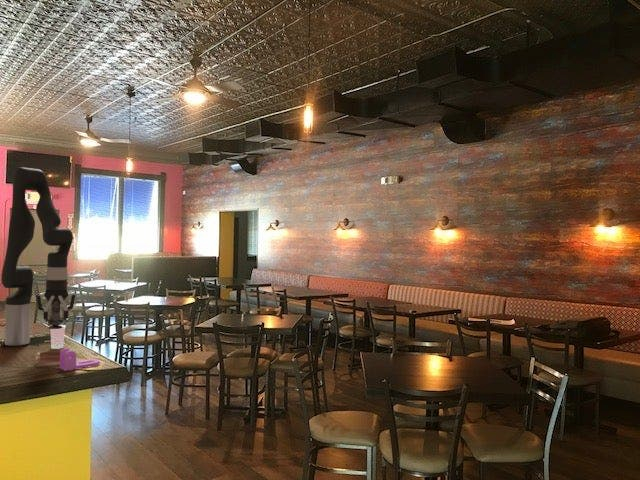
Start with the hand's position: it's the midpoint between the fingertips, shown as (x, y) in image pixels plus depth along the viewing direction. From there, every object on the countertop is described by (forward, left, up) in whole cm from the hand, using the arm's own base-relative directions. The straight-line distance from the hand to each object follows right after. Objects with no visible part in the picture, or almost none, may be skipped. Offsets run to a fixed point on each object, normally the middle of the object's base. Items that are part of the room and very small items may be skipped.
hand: (55, 320), depth 203 cm
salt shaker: (0, 0, -3) cm, 3 cm away
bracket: (+22, +8, -14) cm, 28 cm away
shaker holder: (+12, -1, -14) cm, 18 cm away
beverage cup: (-12, +1, -14) cm, 18 cm away
